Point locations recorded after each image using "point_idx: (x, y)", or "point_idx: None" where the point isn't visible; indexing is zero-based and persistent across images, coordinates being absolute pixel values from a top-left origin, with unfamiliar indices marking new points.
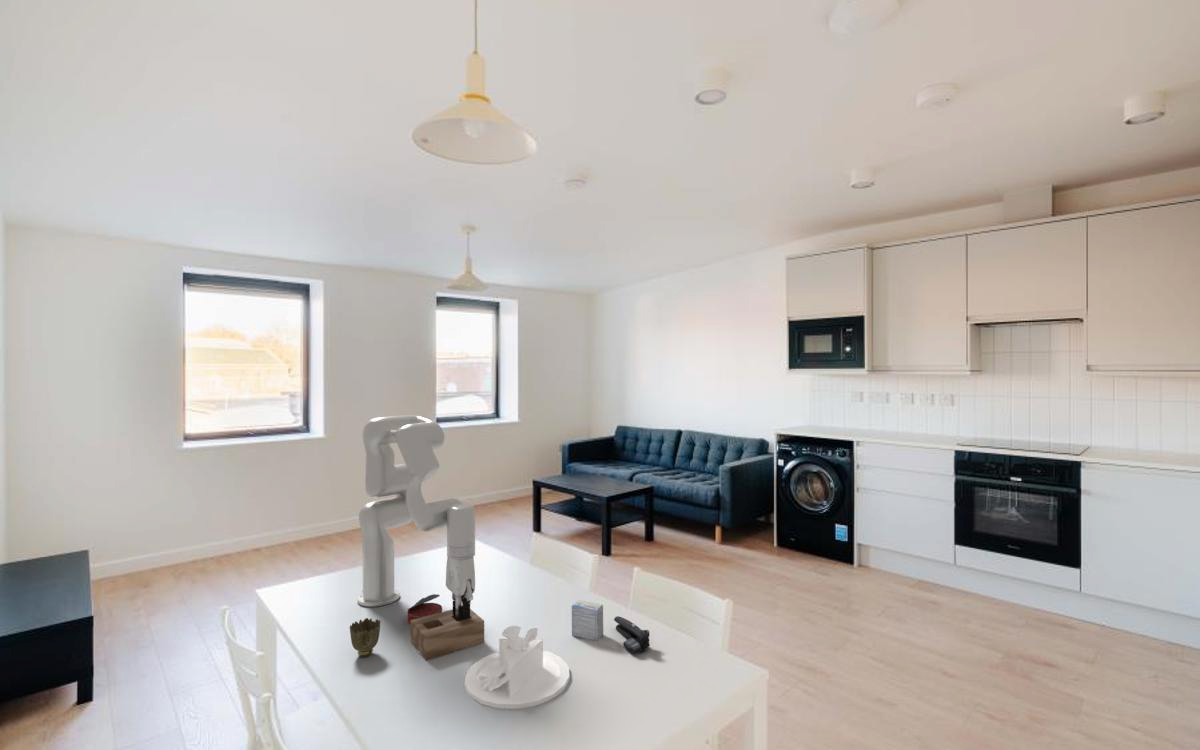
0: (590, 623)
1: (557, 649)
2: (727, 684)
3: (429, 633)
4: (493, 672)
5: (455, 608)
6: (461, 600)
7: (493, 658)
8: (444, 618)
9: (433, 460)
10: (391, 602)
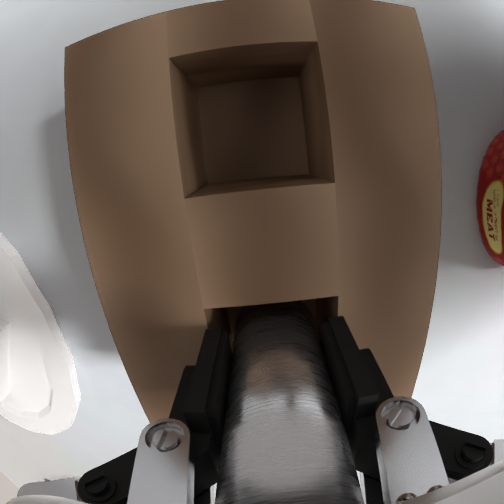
0: None
1: (84, 451)
2: (4, 472)
3: (98, 68)
4: None
5: (294, 367)
6: (135, 475)
7: (28, 326)
8: (319, 238)
9: None
10: None
